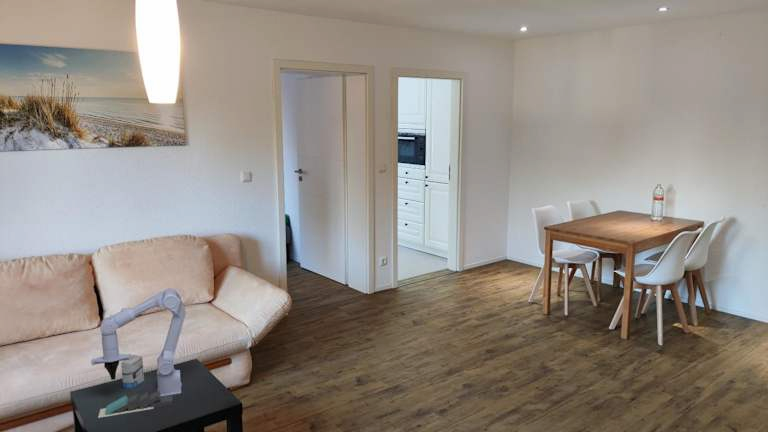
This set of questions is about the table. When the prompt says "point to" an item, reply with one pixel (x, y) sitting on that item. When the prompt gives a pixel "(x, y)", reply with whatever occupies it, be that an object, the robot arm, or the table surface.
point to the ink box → (132, 371)
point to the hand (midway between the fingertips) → (113, 378)
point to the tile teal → (116, 405)
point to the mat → (103, 413)
